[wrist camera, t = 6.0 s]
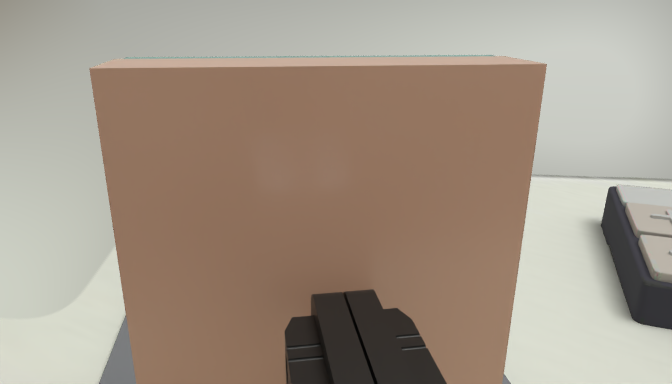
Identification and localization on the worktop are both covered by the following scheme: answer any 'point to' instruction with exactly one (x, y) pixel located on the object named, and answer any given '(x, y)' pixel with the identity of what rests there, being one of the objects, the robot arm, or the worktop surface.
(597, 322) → the worktop surface
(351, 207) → the tile
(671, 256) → the calculator
